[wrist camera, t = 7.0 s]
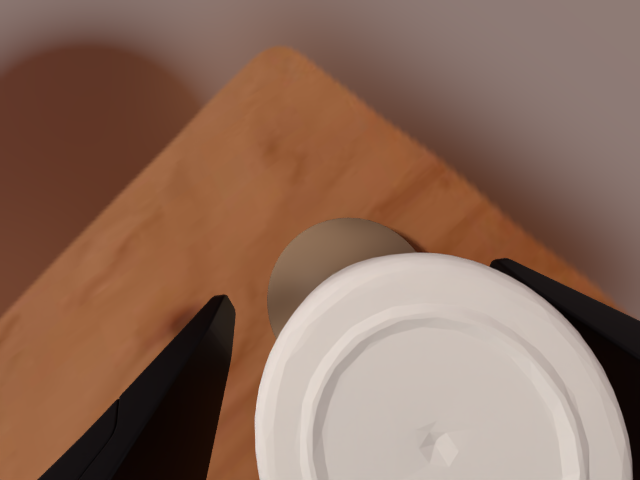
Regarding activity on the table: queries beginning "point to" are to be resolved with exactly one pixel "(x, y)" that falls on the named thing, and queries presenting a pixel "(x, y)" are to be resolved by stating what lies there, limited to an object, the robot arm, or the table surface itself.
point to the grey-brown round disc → (324, 260)
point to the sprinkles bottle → (434, 382)
